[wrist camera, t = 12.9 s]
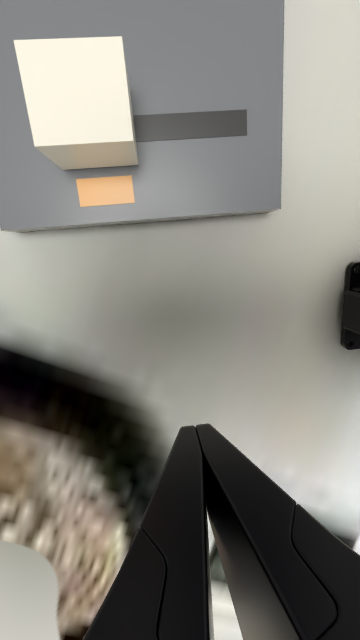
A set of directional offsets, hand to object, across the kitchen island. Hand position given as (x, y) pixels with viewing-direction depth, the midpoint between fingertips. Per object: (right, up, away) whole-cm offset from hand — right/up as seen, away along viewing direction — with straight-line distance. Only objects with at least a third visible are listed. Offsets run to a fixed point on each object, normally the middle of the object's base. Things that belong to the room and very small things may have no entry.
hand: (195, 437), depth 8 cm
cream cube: (-5, +13, +6) cm, 15 cm away
